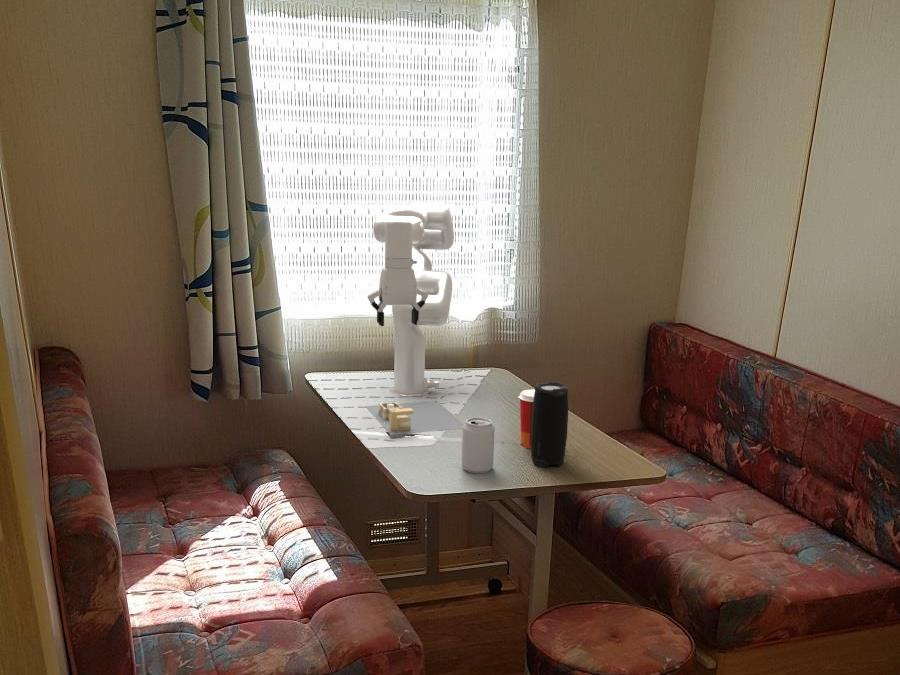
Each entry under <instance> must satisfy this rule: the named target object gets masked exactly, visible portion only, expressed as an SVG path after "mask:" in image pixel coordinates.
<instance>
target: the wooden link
mask: <svg viewBox="0 0 900 675" xmlns="http://www.w3.org/2000/svg"><path fill="white" fill-rule="evenodd" d="M387 404H394V407H393V408H387ZM378 405H379V415H380V416H381V417H382V418H383V419H389V420H390V414H389V410H391V409H403V407H402V406H401V405H400V403H399V402H397V401H395V402H383V403H381V402H380V403H378ZM397 429H398V430H399V431H410V430H411V419H410V418H409V417H408V416H407V415H397Z"/></svg>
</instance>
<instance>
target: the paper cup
mask: <svg viewBox="0 0 900 675" xmlns="http://www.w3.org/2000/svg"><path fill="white" fill-rule="evenodd" d="M534 394H535V389H525V390H521V392H520V393H519V396H518V399H520V403H519V404H520V405H519V406H520V409H519V410H520V411H519V412H520V416H519V417H520V419H519V420H520V445H521V446H522V447H523V448H525V447H526V449H531V421H532V406H533V400H534Z"/></svg>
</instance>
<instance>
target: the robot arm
mask: <svg viewBox="0 0 900 675" xmlns="http://www.w3.org/2000/svg"><path fill="white" fill-rule="evenodd" d="M372 229H373V230H372V231H373V236H374V238H375V240H376V241H377V242H380V243H384V268H381V271H380V278H379V287H378V289H377V290H376V291H374V292H372V293H370V294H368V295H367V300H368V302H369V303H370V305H371V306H372V307H373V309H375V311H376V322H377V324H378V326H380V327H385V312H384V309H385V308H386V307H387V306H391V312H392V319H393V327H394V329H393V330H394V355H393V356H394V358H393V359H394V360H393V361H394V366H393V367H394V370H393V373H394V374H393V375H394V376H393V377H394V378H393V382H394V383H393V386H392V387H390V388H389V389H388V391H389V393H390V394H392V395H395V396H402V397H418V396H425V395H427V394H430V388H438V387H440V381H439V380H433V379H426V378H425V374H426V373H425V370H426V363H425V362H426V338H425V335H424V333H423V332H422V330H421V329H420V328H419V326H428V327H430V326H434V327H437V326H438V327H440V326H443V325H445V324H446V323H447V321H448V320H449V315H450V310H451V308H450V307H451V302H452V301H451V300H452V293H453V281H452V276H451V275H450V273H448V272H447V271H443V270H432V269H433V264H432V261H431V260H430V258H429V257H428V256H427V254H425V252H423V251H422V250H438V251H440V250H441V251H446V250H449V249H451V247H453V244H454V241H455V231H454V226H453V218H452V214H451V211H450V209H449V207H448V205H446V204H445V203H441V202H422V201H421V202H413V203H410V204H409V205H407V207H405V208H401V209H395V210H390V211H385V212H382V213H379V215H378V216H377V217H376V219H375V221H374V222H373V228H372ZM376 298H378V301H379V303H377V302H376V300H375V299H376Z"/></svg>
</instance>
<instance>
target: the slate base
mask: <svg viewBox="0 0 900 675" xmlns="http://www.w3.org/2000/svg"><path fill="white" fill-rule="evenodd" d="M399 404H400V405H401V406H402V407H403V409H391V410H389V414H390V420H389V419H383V418H382V417H381V416H380V415H379V404H377V405H375V404H374V405H365V408H366V409H367V410H368V412H369V413H370V414H371V415H373V417H374V418H375V419H376V420H377V421H378V422H379V423H380V425H382V427H383V428H384V429H385V430H386V431H385V433H386V435H387V436H388V437H389V439H397V437H400V438H406V437H405V436H411V437H416V436H415V435H420V434H419V433H426V432H439V431H447V430H459V429H463V426H464V425H465V424H466V423H464V422H463V421H462V420H461V419H459V418H458V417H457V416H456V415H454V414H453V413H452V412H451V411H450V410H448V409H447V408H445V406H443V405H442V404H441V403H440V402H438V400H428V401H427V400H426V401H417V402H415V401H413V402H404V403H402V402H401V403H399ZM393 407H394V404H387V408H393ZM397 415H407V416H408V417H409V418H410V419H411V430H410V431H399V430H398V429H397ZM417 433H418V434H417Z"/></svg>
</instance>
